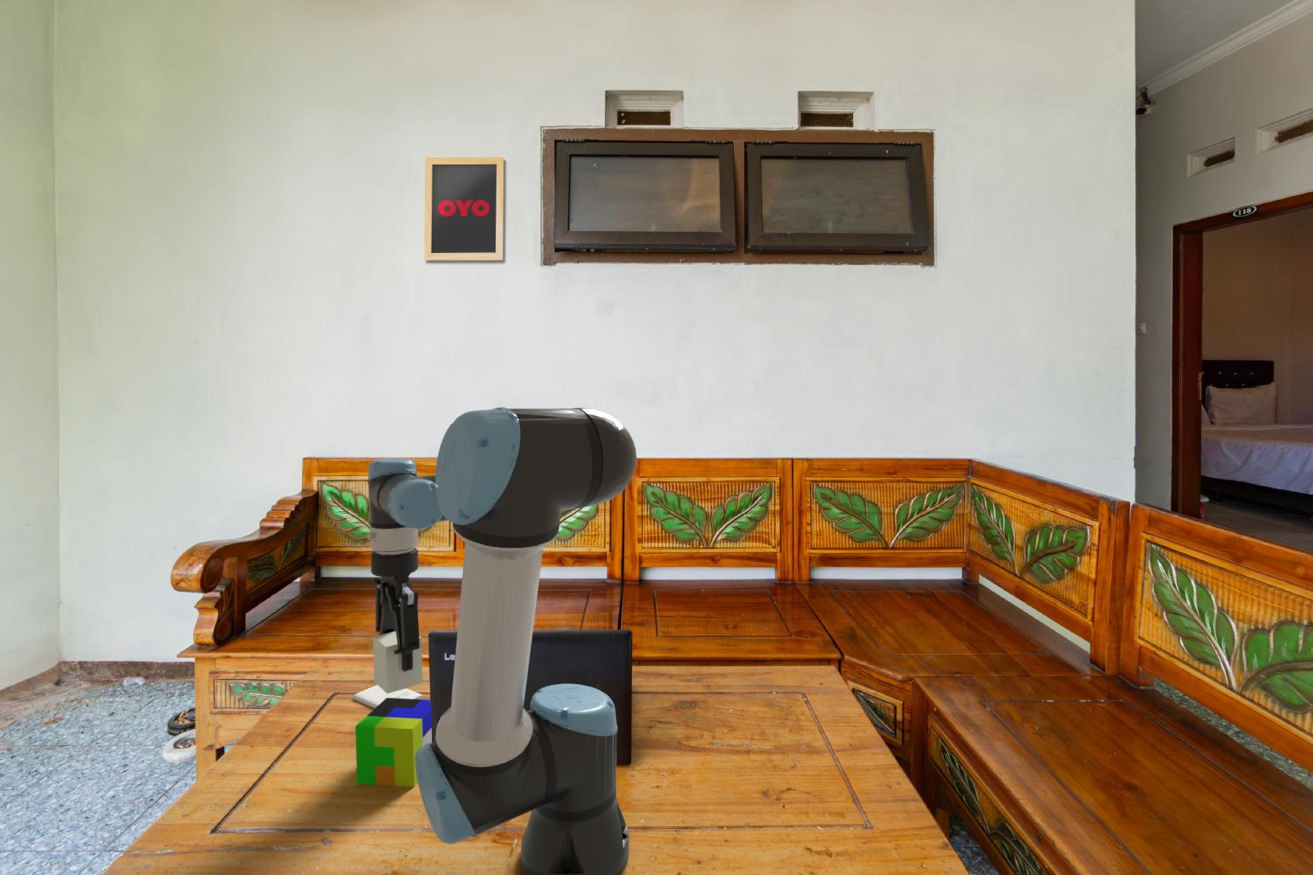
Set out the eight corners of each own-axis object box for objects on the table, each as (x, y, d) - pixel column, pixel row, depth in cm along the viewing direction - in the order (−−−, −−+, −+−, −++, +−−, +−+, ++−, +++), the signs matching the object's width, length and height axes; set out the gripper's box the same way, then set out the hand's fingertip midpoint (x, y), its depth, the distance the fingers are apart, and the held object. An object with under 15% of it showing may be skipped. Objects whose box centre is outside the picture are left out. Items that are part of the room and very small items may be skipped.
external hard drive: (388, 687, 142) (423, 700, 136) (353, 701, 136) (389, 717, 129) (387, 680, 142) (423, 693, 136) (353, 694, 136) (389, 709, 129)
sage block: (422, 682, 109) (421, 637, 109) (387, 693, 105) (385, 647, 105) (408, 671, 114) (407, 628, 113) (374, 681, 110) (373, 636, 109)
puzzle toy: (440, 753, 115) (439, 700, 114) (414, 787, 105) (412, 728, 104) (388, 750, 116) (386, 697, 115) (357, 783, 106) (355, 725, 105)
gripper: (352, 543, 112) (356, 669, 114) (393, 564, 98) (397, 707, 100) (395, 536, 117) (398, 657, 119) (439, 555, 104) (442, 692, 105)
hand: (397, 680), depth 109 cm, fingers closed on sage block, 6 cm apart
